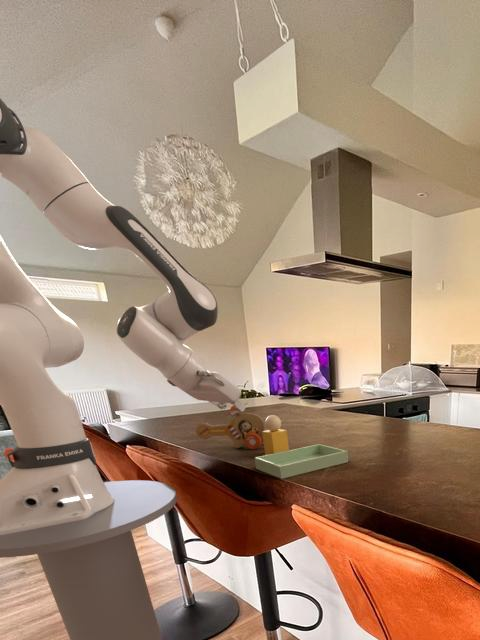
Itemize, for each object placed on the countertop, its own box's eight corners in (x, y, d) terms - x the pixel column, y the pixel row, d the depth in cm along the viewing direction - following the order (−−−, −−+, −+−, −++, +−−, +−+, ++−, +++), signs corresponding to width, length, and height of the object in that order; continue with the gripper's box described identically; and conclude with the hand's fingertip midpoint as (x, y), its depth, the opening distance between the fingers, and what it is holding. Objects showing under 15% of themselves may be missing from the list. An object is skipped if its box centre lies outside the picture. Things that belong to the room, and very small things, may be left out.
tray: (281, 478, 99) (279, 466, 98) (256, 468, 108) (254, 457, 107) (348, 462, 111) (347, 450, 110) (320, 454, 120) (319, 443, 119)
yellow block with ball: (274, 458, 118) (269, 417, 114) (265, 455, 121) (259, 415, 117) (289, 454, 121) (284, 414, 117) (280, 452, 125) (274, 413, 121)
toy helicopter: (265, 449, 129) (258, 403, 124) (196, 453, 128) (186, 407, 123) (269, 443, 137) (263, 400, 132) (204, 447, 136) (196, 403, 131)
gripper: (217, 360, 94) (261, 400, 104) (178, 361, 107) (221, 396, 117) (202, 383, 92) (248, 421, 103) (164, 381, 105) (209, 415, 116)
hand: (233, 408), depth 110 cm, fingers open, 8 cm apart
